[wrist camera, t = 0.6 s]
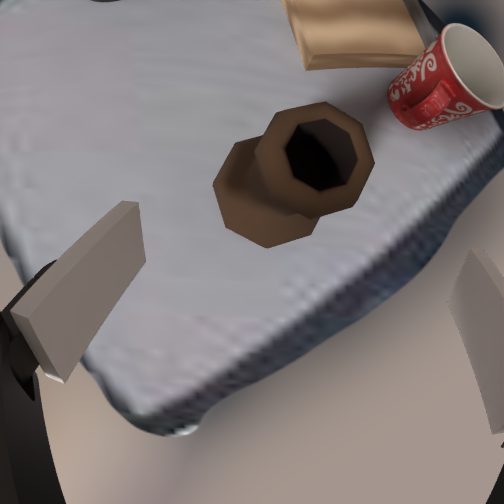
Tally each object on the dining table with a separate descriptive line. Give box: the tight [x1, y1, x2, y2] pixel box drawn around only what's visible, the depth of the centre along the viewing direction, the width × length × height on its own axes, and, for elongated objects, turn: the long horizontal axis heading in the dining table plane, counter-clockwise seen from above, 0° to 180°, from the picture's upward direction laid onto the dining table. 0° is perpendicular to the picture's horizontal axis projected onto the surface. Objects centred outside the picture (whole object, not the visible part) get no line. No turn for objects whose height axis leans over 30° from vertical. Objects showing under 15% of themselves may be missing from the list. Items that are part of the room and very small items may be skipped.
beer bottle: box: [213, 102, 375, 248], centre depth 20 cm, size 8×8×24 cm
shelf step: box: [281, 0, 436, 71], centre depth 28 cm, size 13×16×6 cm
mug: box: [388, 23, 504, 130], centre depth 26 cm, size 13×9×14 cm
